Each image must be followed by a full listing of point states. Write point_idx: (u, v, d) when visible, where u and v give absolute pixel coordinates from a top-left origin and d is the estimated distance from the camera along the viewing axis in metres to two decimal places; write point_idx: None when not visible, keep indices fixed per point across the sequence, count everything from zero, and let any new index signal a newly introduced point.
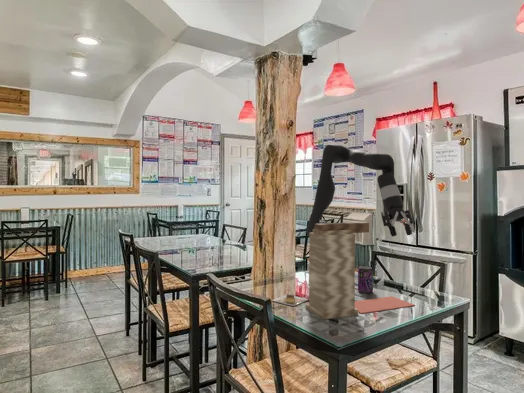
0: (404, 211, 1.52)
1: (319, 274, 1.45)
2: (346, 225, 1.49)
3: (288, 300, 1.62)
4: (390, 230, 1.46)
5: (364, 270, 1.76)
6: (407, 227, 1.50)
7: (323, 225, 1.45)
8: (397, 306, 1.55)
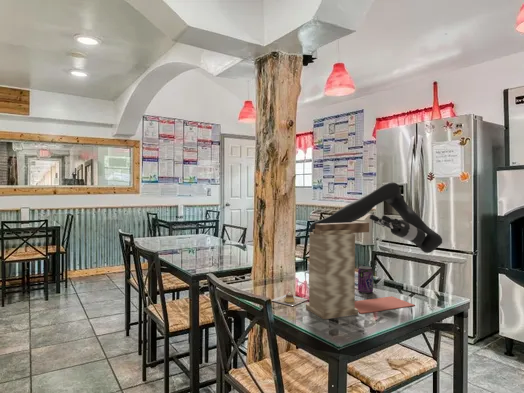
0: None
1: (319, 274, 1.45)
2: (346, 225, 1.49)
3: (287, 300, 1.62)
4: (388, 218, 1.57)
5: (364, 270, 1.76)
6: (375, 219, 1.66)
7: (324, 225, 1.45)
8: (397, 306, 1.55)
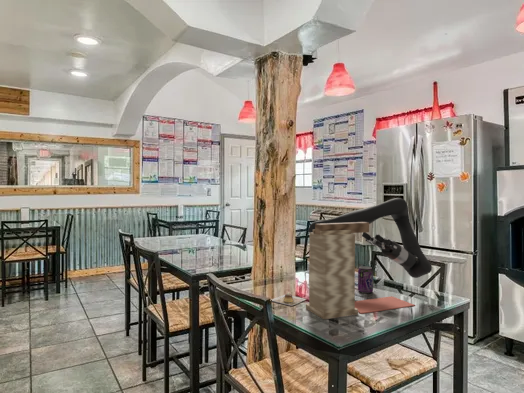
0: None
1: (319, 274, 1.45)
2: (346, 225, 1.49)
3: (286, 300, 1.62)
4: (381, 238, 1.52)
5: (364, 270, 1.76)
6: (368, 237, 1.60)
7: (324, 225, 1.45)
8: (397, 306, 1.55)
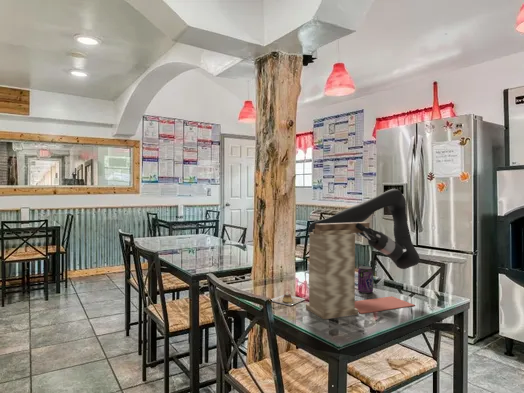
0: None
1: (319, 274, 1.45)
2: (346, 225, 1.49)
3: (285, 300, 1.62)
4: (362, 227, 1.50)
5: (364, 270, 1.76)
6: None
7: (324, 225, 1.45)
8: (397, 306, 1.55)
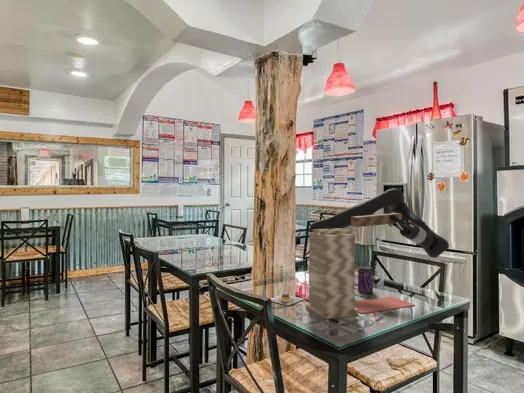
0: None
1: (319, 274, 1.45)
2: (381, 217, 1.55)
3: (283, 300, 1.62)
4: (396, 218, 1.56)
5: (364, 270, 1.76)
6: None
7: (360, 218, 1.50)
8: (397, 306, 1.55)
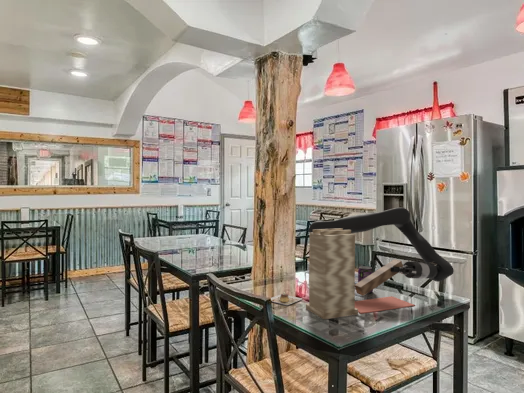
0: None
1: (319, 274, 1.45)
2: (383, 274, 1.54)
3: (282, 299, 1.62)
4: (397, 269, 1.56)
5: (364, 270, 1.76)
6: None
7: (364, 286, 1.50)
8: (397, 306, 1.55)
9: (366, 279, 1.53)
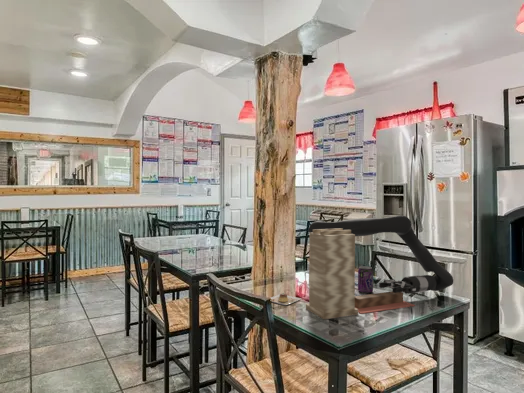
0: None
1: (319, 274, 1.45)
2: (382, 297, 1.56)
3: (281, 299, 1.63)
4: (399, 289, 1.56)
5: (364, 270, 1.76)
6: (385, 285, 1.64)
7: (362, 299, 1.52)
8: (397, 306, 1.55)
9: (365, 296, 1.56)
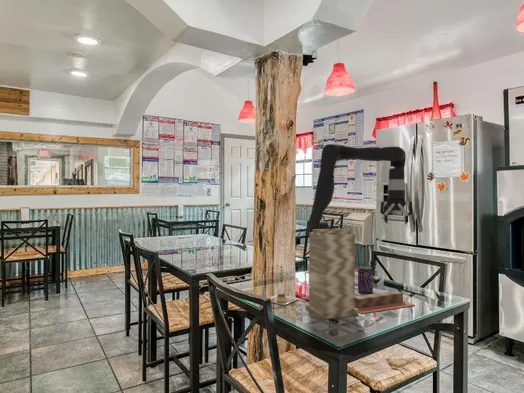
0: (385, 202, 1.75)
1: (319, 274, 1.45)
2: (382, 297, 1.56)
3: (279, 299, 1.63)
4: None
5: (364, 270, 1.76)
6: (387, 216, 1.75)
7: (362, 299, 1.52)
8: (397, 306, 1.55)
9: (365, 296, 1.56)
